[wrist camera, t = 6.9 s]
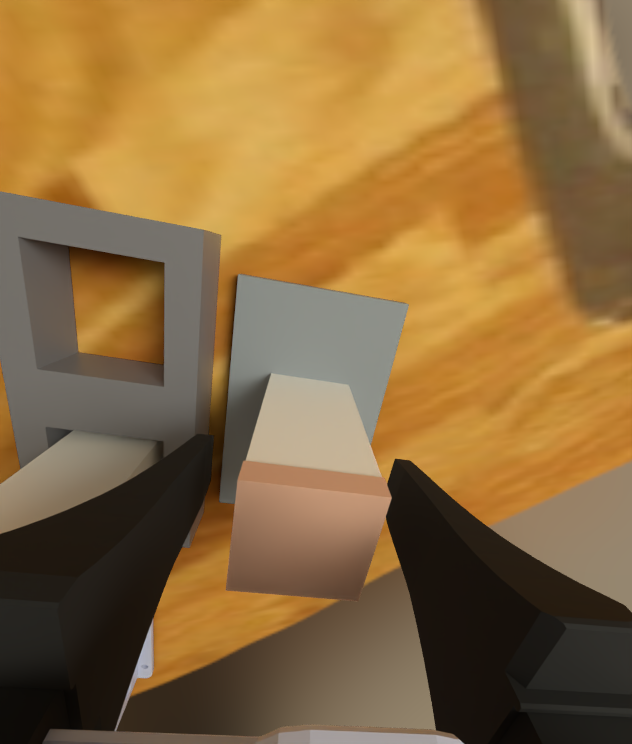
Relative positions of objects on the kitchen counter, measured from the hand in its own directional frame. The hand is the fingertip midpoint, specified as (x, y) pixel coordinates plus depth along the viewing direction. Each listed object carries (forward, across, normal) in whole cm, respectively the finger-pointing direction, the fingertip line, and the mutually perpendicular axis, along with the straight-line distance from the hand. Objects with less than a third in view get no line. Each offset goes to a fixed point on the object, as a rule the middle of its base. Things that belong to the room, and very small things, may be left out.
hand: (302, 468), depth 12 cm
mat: (+5, 0, 0) cm, 5 cm away
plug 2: (+4, 0, 0) cm, 5 cm away
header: (+5, +9, 0) cm, 10 cm away
